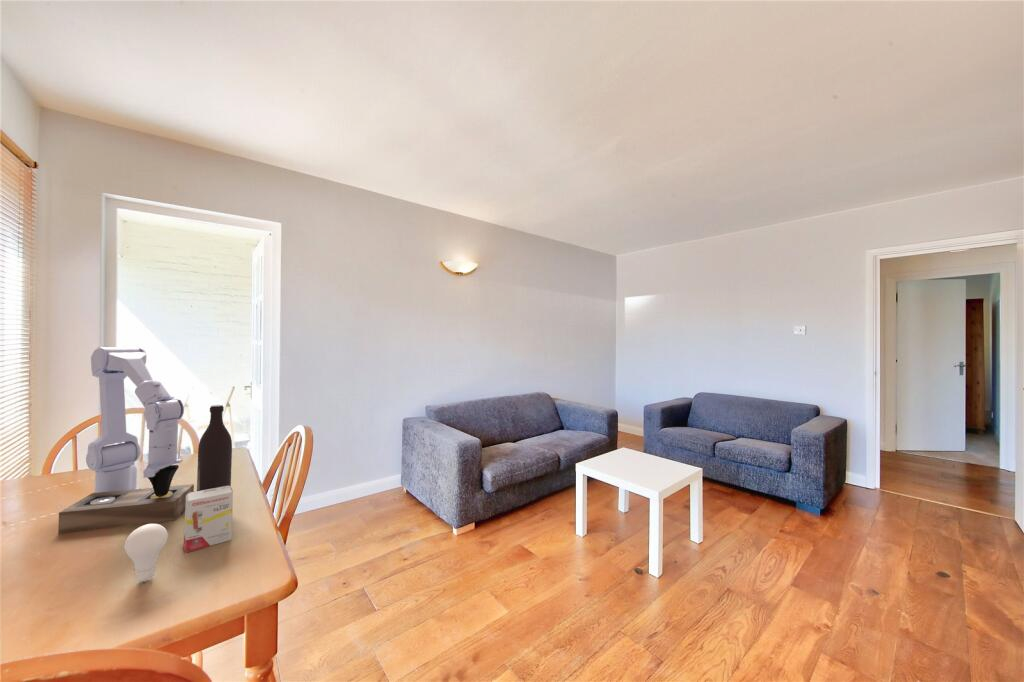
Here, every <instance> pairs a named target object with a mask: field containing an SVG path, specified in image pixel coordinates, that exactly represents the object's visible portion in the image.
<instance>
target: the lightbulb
mask: <svg viewBox="0 0 1024 682" xmlns="http://www.w3.org/2000/svg"><path fill="white" fill-rule="evenodd" d="M168 536H169V534H168V530H167V529H166V528H165V527H164V526H163V525H162V524H158V523H145V524H142V525H141V526H139V527H137V528H136V529H134V530H133V531H132V532H130V534H129V535H128V536H127V538H126V539H125V542H124V551H125V554H127V556H128V557H129V558H130V559H131V560H132V562H133V565H134V571H135V574H136V581H138V582H142V583H146V582H148V581H149V580H150V579H151V578H153V577H154V576H155V572H156V571H155V570H156V566H157V564H158V558H159V556H160V553H161V552H162V550H163V548H164V547H165V545H166V544H167V541H168Z"/></svg>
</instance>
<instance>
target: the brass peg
mask: <svg viewBox="0 0 1024 682" xmlns="http://www.w3.org/2000/svg"><path fill="white" fill-rule="evenodd" d="M172 494H173V492H171V491H168V493H167V494H166V495H162V496H156V495H155V494H153V495H151V497H150V499H154V498H164V497H170V496H171V495H172Z"/></svg>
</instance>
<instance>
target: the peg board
mask: <svg viewBox="0 0 1024 682" xmlns="http://www.w3.org/2000/svg"><path fill="white" fill-rule="evenodd" d="M194 487H195V484H193V483H192V484H191V483H190V484H181V485H170V488H169V491H171V492H173V494H172V495H171V496H170V497H164V498H154V499H150V497H151V495H153V494H155V492H154V489H153V487H147V488H140V489H133V490H121V491H110V492H98V493H95V492H92V493H90V494H89V495H87V496H85V497H83V498H81V499H80V500H78V501H76V502H75V503H73V504H71V505H69V506H68V507H66V508H65V509H63V510H61V511H59V512H58V525H57V526H58V527H57V530H58V531H57V532H58V533H57V534H65V533H74V532H84V531H90V530H92V531H93V530H99V529H100V530H101V529H108V528H115V527H116V528H117V527H118V528H120V527H127V526H135V525H136V526H137V525H146V524H155V523H161V522H169V521H170V522H171V521H175V520H176V519H177V518H178V517H179V516H180V515H181V514H182V513H183V512H185V505H186V495H187V494H188V493H191V492H195V488H194ZM103 497H115V500H113V501H112V502H110V503H101V504H91V505H90V502H91V501H93V500H95V499H99V498H103Z"/></svg>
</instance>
